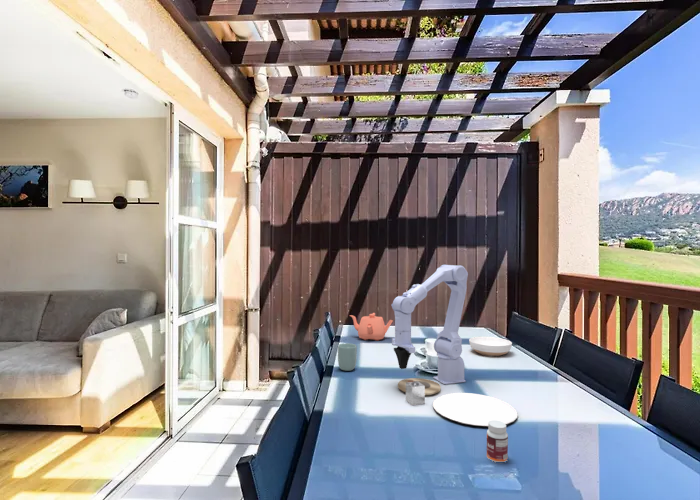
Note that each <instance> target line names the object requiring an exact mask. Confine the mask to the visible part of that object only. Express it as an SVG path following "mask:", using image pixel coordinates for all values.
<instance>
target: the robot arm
mask: <svg viewBox="0 0 700 500" xmlns="http://www.w3.org/2000/svg"><path fill="white" fill-rule="evenodd" d="M468 275H469V273H468V271H467V269H466V268H465V266H463V265H460V264H459V265H455V264H454V265H453V264H442V265H440V266H439V267H437V268H436V271H435V272H434V273H433V274H432V275H430V276H429V277H428V278H427V279H426V280H425V281H424V282H422V283H421V284H419V283H416V284H413V285H411V287H410V288H409V290H407V291H406V292H403V293H402V295H398V296H396V297H395V298H394V299H393V301H392V303H391V308H392V310H393V312H394V313H393V314H394V337H392V338H391V345H392V346H395V347H393V351H394V353H395V355H396V358H397V363H398V367H399V369H401V370H403V369H405V370H406V369H407V367H408V364H409V363H408V362H409V360H410V357H411V355H412V354H414V353H416V346H414V344H413V343H412V313H413V312H414V310H415V308H416V306H417V305H418V304H419V303H420V302H422V301H423V300H424V299H426V298H427V296H428V292H429V291H431V290H433V288H435V287H437V286H438V285H439V284H441V283H443V282H444V283H445V284H446V285H447V286H448V287H449V289H450V291H451V292H450V296H449V301H448V306H447V311H446V314H445V321H444V324H443V325H444V326H443V330H441V331H440V332H439V333H437V337H436V339H435V340H434V344H433V350H434V351H435V353H436V356H437V375H435V376H433V377H432V378H433V379H434V380H436V381H438V383H441V384H443V385H452V384H458V383H466V380H465V362H464V361H465V360H464V359H463V358H462V357H461V355H462V353H463V346H462V345H463V344H462V343H463V339H462V338H461V336H460V334H459V329H460V325H461V324H460V323H461V320H462V315H463V309H464V303H465V301H466V300H465V299H466V294H467V290H468V289H467V287H468V286H467V281H468V277H469V276H468Z"/></svg>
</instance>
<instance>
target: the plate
mask: <svg viewBox="0 0 700 500" xmlns="http://www.w3.org/2000/svg"><path fill="white" fill-rule="evenodd" d="M432 407H433V410H435V412H436V413H438V414H439V415H440V416H442V417H443V418H446V419H448V420H450V421H452V422H456V423H458V424H463V425H468V426H472V427H485V428H488V423H489V421H492V420H496V421H501V422H503V423H505V424H506V426H507V425H510V424H511V423H512V424H513V422H515V421H516V420H517V419H518V412H517V410H516V408H514V407H513V406H512V404H509V403H508V402H505V401H504V400H503V399H499V398H496V397H493V396H489V395H485V394H481V393H480V394H479V393H471V392H454V393H453V392H452V393H446V394H443V395H440V396H438V397H437V398H435V399H434V400H433V402H432Z"/></svg>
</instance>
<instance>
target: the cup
mask: <svg viewBox="0 0 700 500" xmlns="http://www.w3.org/2000/svg"><path fill="white" fill-rule="evenodd" d="M357 349H358V348H357V344H355V343H348V342H346V343H345V342H344V343H340V344H338V345H337V362H338V367H339V368H340V370H342V371H346V372H350V371H353V370H354V369H355V368H356V364H357V356H358V355H357V354H358V351H357Z"/></svg>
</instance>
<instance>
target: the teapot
mask: <svg viewBox="0 0 700 500" xmlns="http://www.w3.org/2000/svg"><path fill="white" fill-rule="evenodd" d="M349 317H351V318H352V320H353V327H354V329H355V331H356V332H357V335H358V338H359V339H362V341H368V340H374V341H376V342H377V341H380V340H383V339H384V338H385V335H386V334H387V332H388V331H389V329H390V326H391V325H392V323H393V322H394V320H392V319H389V320H388V322H387V324H385V321H384V318H383V316H376V313H375V312H372V313H369V314H368V315H365V316H362V317H361V319H360V322H359V323H358V321H357V317H356V316H355V315H352V314H351V315H350V314H349Z"/></svg>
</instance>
